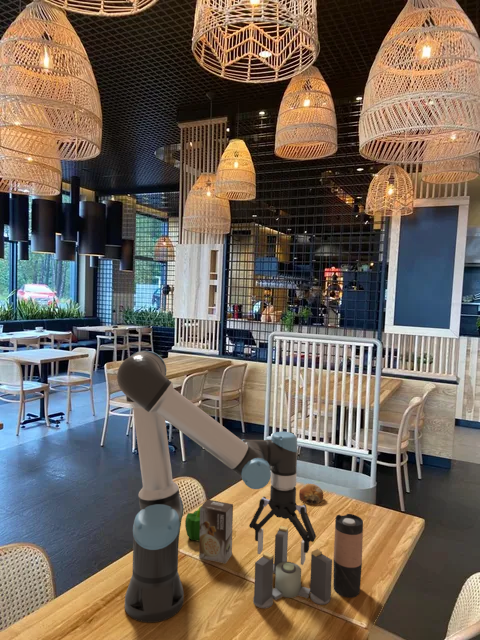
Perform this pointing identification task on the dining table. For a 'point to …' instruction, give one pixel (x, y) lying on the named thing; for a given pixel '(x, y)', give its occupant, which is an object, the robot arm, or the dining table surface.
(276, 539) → the grey block tan end
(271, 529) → the dining table surface
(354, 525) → the travel mug
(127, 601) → the robot arm
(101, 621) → the dining table surface
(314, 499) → the bread roll
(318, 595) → the grey post tan tip
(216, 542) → the coffee box
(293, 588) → the tribrach hub
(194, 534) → the bell pepper
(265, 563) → the dark grey upright block
